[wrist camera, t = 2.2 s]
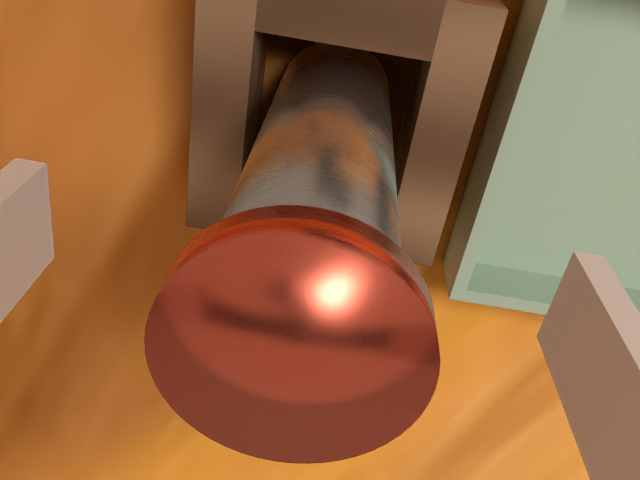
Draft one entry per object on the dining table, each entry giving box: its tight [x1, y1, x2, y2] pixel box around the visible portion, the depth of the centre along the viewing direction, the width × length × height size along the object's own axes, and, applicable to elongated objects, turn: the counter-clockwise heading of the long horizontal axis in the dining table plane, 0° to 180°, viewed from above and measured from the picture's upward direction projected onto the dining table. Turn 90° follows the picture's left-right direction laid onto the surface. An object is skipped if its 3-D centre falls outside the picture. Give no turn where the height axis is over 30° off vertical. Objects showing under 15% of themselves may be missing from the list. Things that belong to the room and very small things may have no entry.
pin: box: [144, 42, 440, 464], centre depth 19 cm, size 6×6×16 cm
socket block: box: [186, 0, 509, 267], centre depth 24 cm, size 10×10×4 cm
